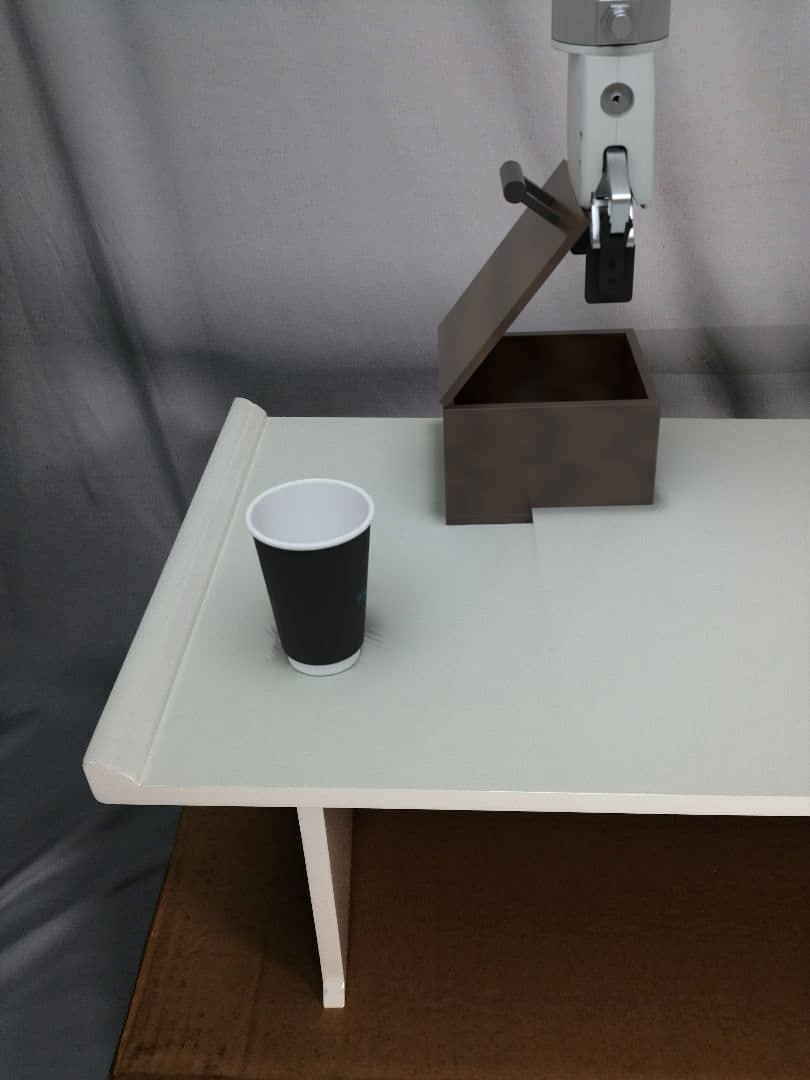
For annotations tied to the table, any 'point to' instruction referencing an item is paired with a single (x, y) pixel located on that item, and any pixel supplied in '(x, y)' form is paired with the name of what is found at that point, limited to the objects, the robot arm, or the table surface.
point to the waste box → (552, 427)
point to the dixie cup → (315, 568)
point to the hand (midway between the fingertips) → (599, 276)
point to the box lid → (509, 273)
